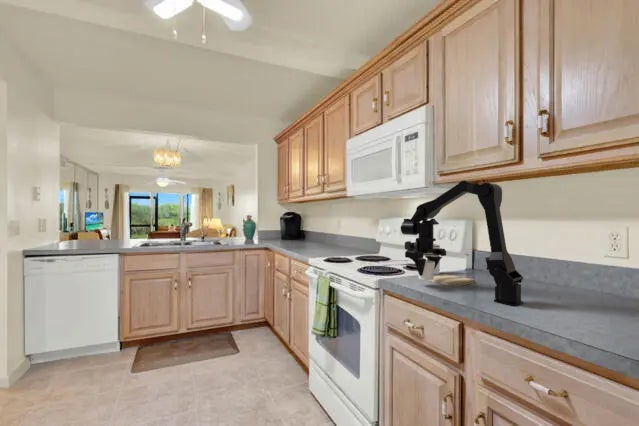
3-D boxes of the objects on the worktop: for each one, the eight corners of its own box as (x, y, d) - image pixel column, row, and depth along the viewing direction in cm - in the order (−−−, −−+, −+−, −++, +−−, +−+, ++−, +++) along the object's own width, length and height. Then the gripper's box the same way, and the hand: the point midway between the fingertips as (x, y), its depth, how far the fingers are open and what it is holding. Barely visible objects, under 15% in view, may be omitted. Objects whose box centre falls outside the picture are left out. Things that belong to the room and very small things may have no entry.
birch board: (475, 282, 133) (475, 279, 133) (455, 286, 125) (455, 283, 125) (445, 276, 145) (445, 274, 145) (426, 280, 137) (426, 277, 137)
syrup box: (424, 272, 156) (424, 243, 156) (436, 272, 156) (436, 243, 156) (427, 274, 151) (427, 244, 151) (440, 274, 150) (440, 244, 150)
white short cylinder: (431, 281, 121) (431, 262, 121) (414, 278, 126) (414, 261, 126) (437, 278, 127) (437, 260, 127) (420, 276, 131) (420, 259, 131)
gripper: (424, 234, 138) (424, 269, 138) (394, 235, 128) (394, 273, 128) (446, 235, 129) (447, 273, 129) (416, 237, 119) (416, 278, 118)
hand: (426, 274), depth 126 cm, fingers closed on white short cylinder, 6 cm apart
